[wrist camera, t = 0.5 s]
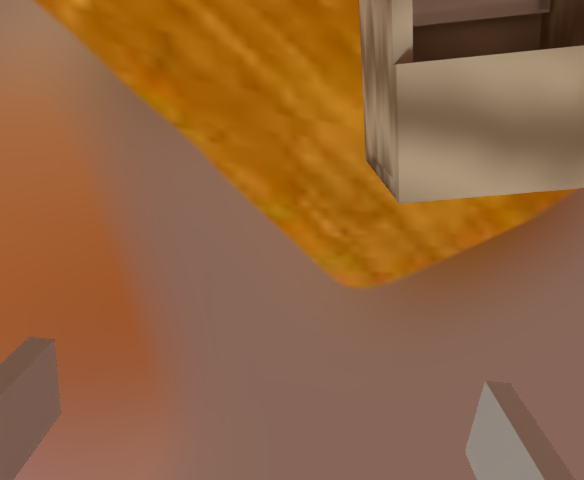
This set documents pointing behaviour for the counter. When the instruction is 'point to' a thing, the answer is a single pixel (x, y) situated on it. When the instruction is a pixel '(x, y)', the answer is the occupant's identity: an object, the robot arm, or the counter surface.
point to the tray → (473, 10)
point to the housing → (473, 102)
